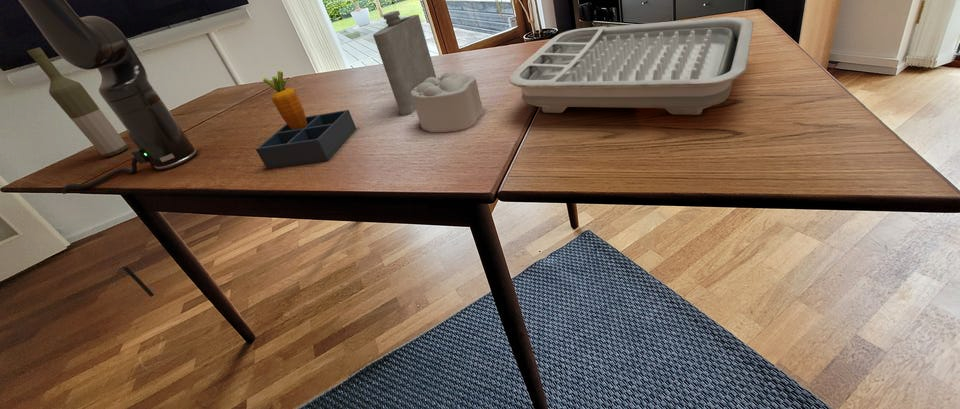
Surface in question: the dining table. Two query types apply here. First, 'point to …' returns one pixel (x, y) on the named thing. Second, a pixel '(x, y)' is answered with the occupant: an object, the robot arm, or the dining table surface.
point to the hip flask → (404, 57)
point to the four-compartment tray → (307, 140)
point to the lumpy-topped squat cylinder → (447, 102)
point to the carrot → (287, 103)
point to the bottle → (80, 108)
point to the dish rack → (638, 66)
